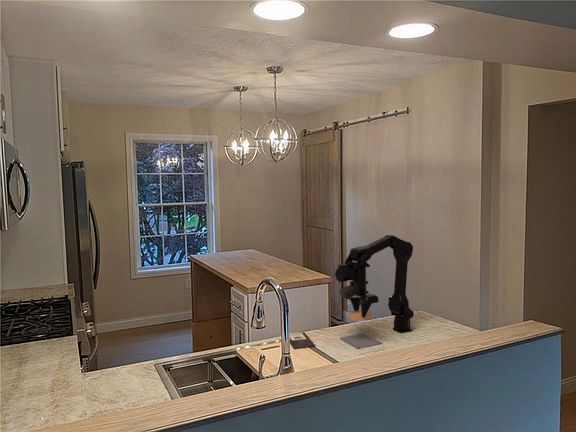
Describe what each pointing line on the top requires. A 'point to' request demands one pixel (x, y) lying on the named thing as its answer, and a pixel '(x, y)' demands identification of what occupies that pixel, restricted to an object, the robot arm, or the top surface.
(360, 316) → the tile
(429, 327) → the top surface
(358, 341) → the mat
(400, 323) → the robot arm
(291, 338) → the chocolate bar
